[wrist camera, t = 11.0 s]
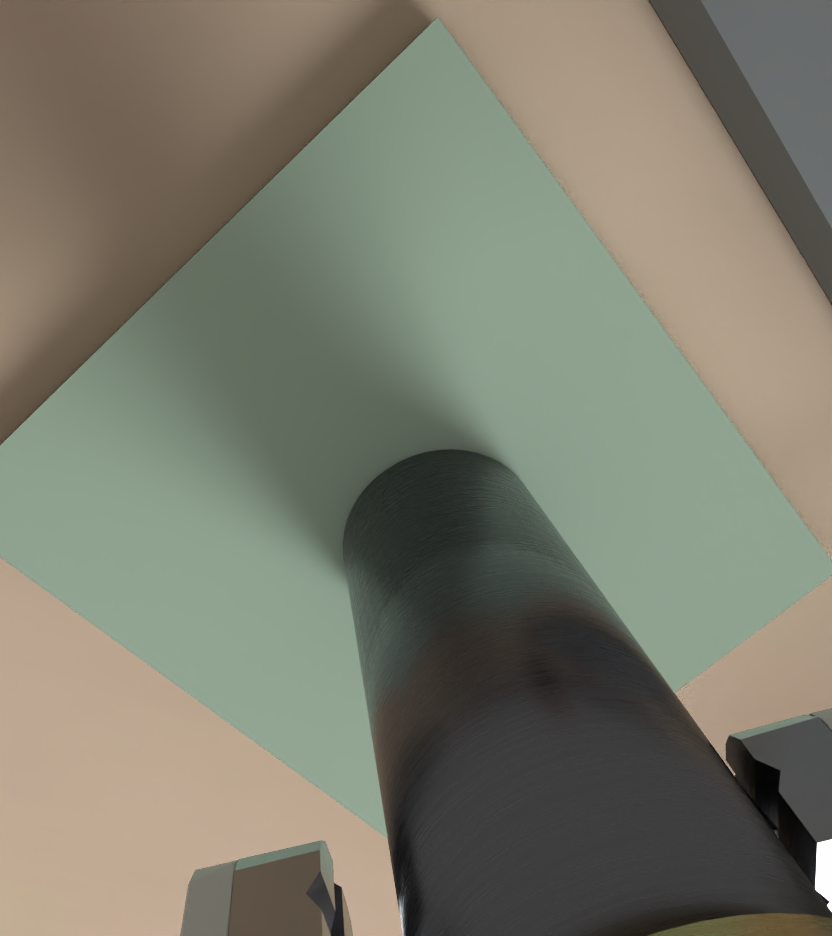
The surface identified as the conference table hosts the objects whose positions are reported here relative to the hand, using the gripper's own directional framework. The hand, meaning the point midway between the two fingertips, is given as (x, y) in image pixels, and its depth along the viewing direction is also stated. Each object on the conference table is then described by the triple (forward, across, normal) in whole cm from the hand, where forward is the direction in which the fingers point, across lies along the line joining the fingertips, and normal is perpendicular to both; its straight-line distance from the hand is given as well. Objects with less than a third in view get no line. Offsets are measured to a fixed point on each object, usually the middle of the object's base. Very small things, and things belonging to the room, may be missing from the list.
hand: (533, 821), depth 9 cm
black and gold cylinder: (+7, 0, 0) cm, 7 cm away
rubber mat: (+8, 0, 0) cm, 8 cm away
